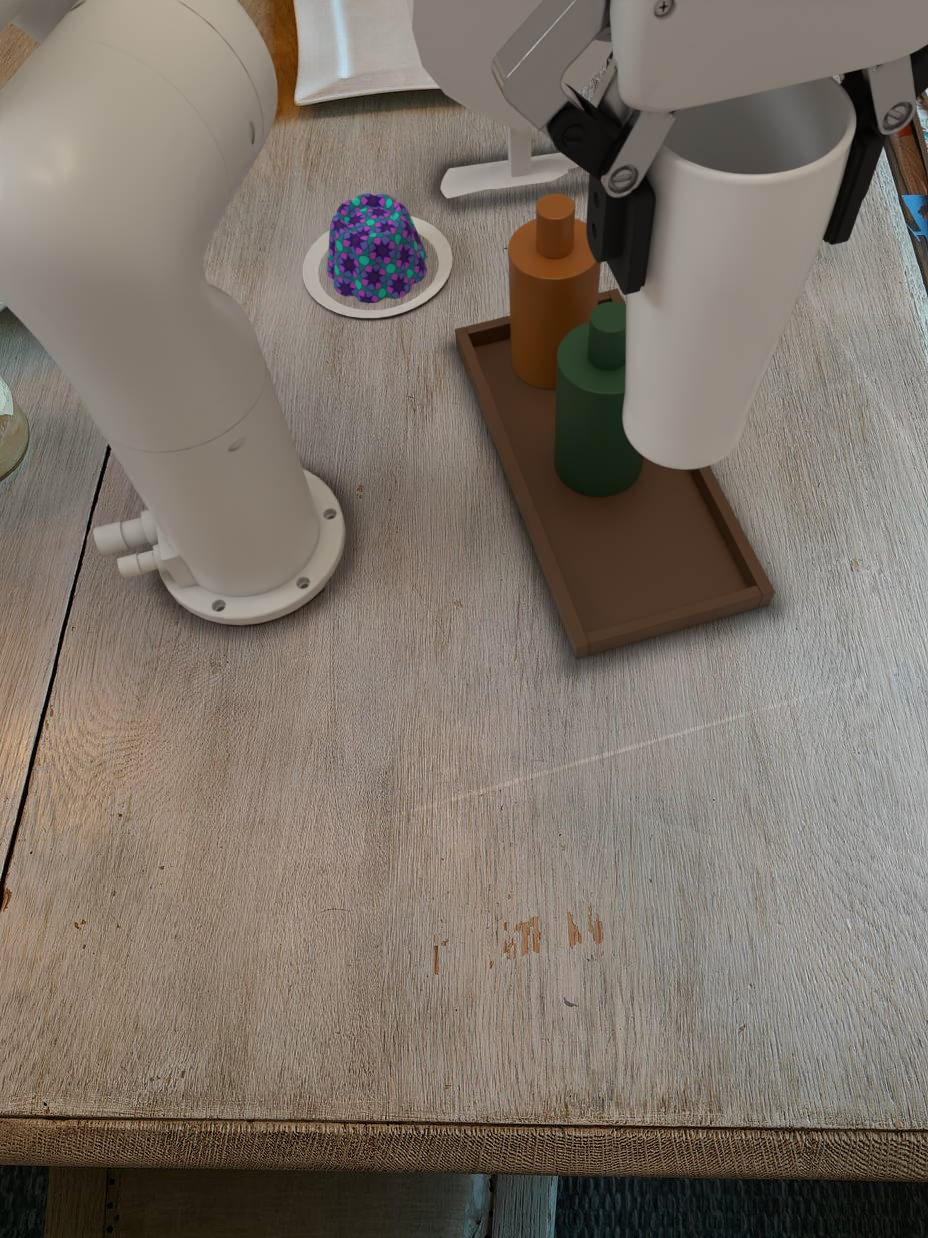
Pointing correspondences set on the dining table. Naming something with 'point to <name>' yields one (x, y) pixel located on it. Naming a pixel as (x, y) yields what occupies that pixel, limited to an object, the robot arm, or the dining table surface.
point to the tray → (612, 520)
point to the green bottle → (594, 407)
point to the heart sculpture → (489, 83)
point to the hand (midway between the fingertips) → (720, 239)
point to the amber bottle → (549, 287)
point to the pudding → (375, 256)
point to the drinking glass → (728, 262)
